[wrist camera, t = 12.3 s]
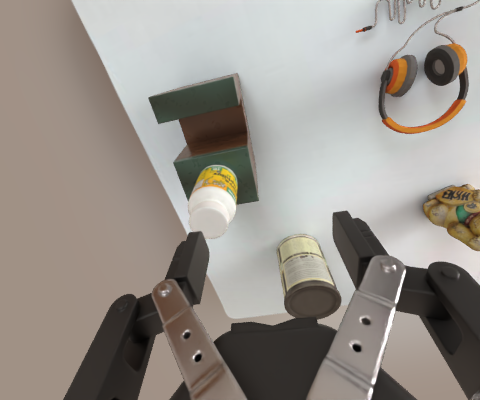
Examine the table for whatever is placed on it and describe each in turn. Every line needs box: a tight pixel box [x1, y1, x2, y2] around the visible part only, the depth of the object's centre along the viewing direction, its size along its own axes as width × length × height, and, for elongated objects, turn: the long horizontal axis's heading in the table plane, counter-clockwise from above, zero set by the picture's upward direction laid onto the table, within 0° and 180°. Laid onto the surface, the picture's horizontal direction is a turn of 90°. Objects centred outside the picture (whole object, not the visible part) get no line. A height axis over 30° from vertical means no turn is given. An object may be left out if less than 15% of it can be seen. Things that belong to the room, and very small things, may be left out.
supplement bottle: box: [188, 165, 237, 239], centre depth 27 cm, size 5×5×10 cm
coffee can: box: [277, 234, 341, 319], centre depth 48 cm, size 10×10×14 cm
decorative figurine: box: [423, 184, 480, 251], centre depth 40 cm, size 10×8×15 cm
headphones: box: [356, 0, 480, 134], centre depth 32 cm, size 17×5×20 cm
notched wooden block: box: [149, 73, 259, 205], centre depth 35 cm, size 16×10×13 cm, turn 12°
